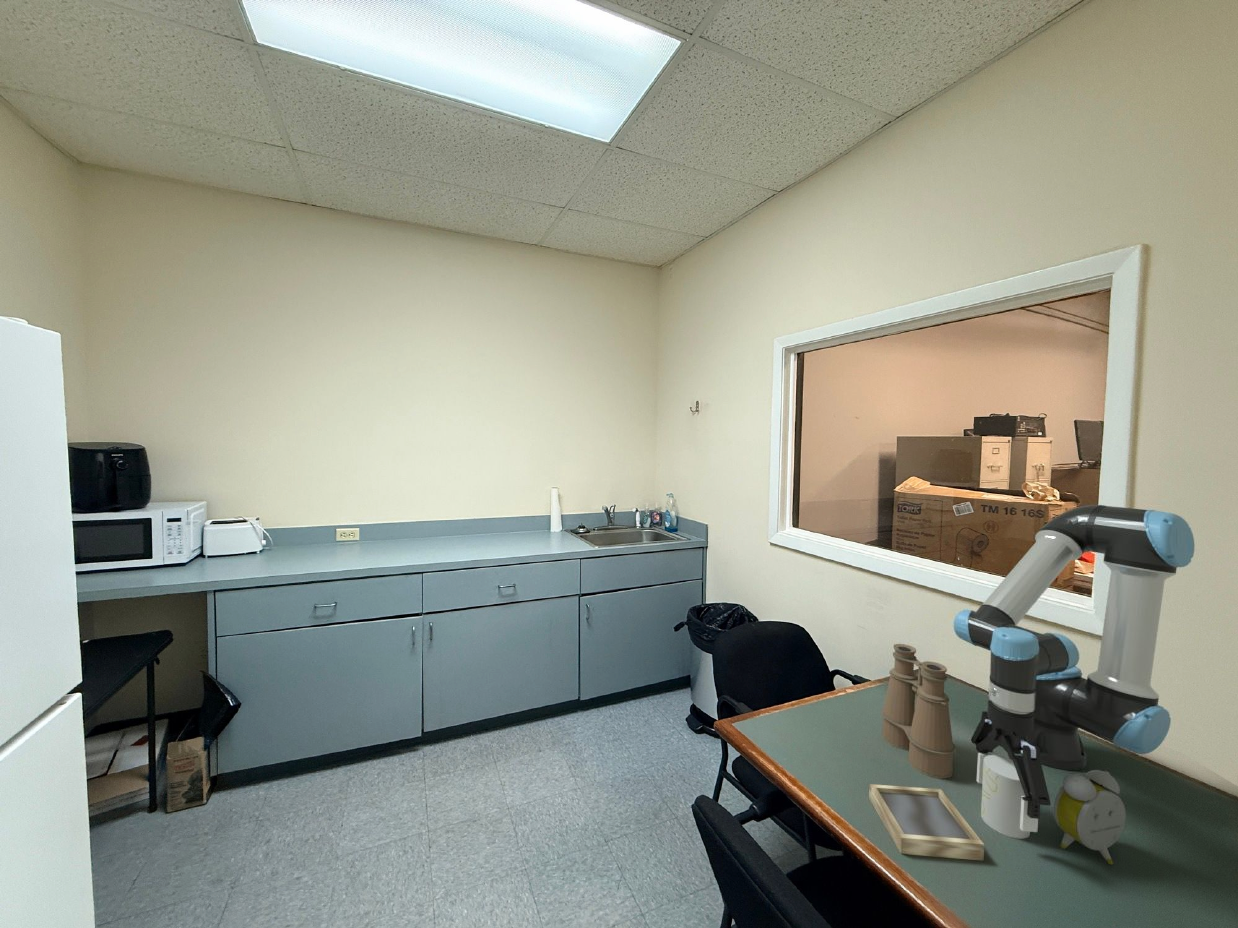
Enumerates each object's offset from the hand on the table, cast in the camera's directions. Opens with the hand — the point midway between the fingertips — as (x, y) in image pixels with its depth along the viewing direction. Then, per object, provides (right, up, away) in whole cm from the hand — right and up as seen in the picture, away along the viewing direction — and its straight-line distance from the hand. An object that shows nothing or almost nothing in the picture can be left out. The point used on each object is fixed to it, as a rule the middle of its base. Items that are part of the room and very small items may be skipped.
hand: (1004, 804), depth 104 cm
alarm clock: (+12, -5, -7) cm, 14 cm away
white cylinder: (0, -4, 0) cm, 4 cm away
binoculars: (-5, -3, +24) cm, 24 cm away
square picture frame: (-18, -4, -1) cm, 18 cm away
